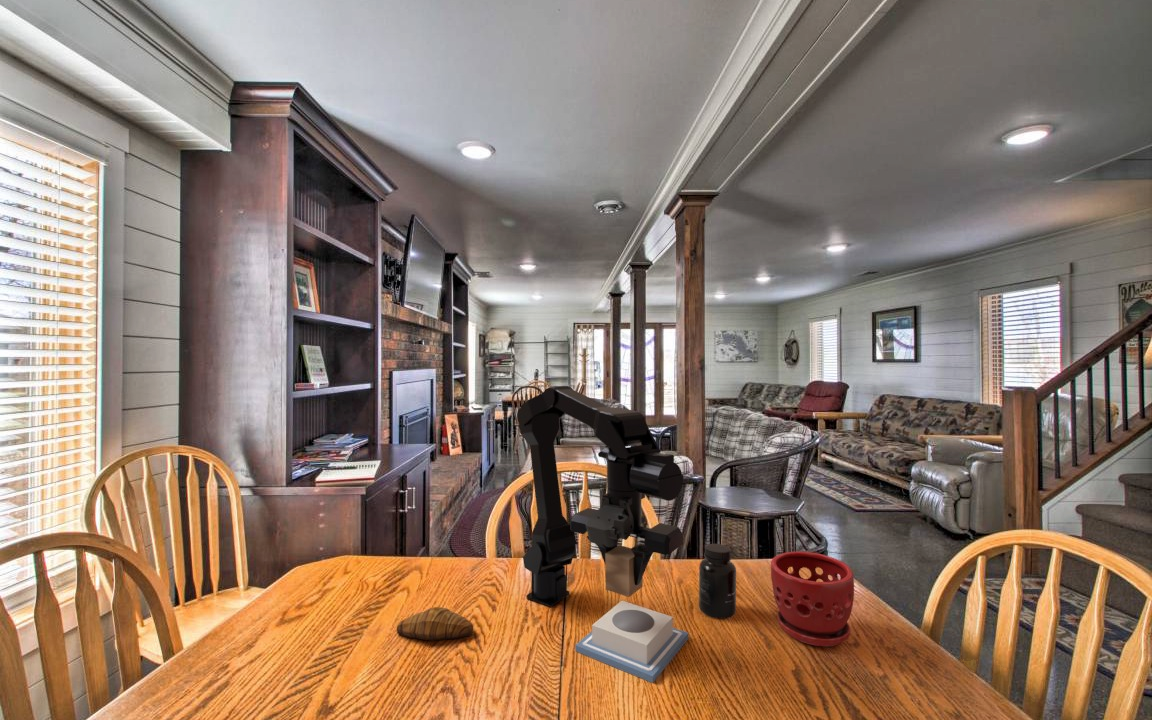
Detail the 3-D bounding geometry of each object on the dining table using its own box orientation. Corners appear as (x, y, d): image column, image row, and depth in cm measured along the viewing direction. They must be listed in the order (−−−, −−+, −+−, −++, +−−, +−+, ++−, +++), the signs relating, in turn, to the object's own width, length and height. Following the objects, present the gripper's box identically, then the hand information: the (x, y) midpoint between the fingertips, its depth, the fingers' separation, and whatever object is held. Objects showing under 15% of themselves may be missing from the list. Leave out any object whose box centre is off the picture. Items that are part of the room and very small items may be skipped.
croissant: (388, 646, 83) (388, 616, 83) (404, 624, 90) (404, 597, 90) (467, 648, 83) (467, 618, 83) (477, 626, 89) (477, 598, 89)
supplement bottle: (738, 622, 90) (738, 556, 90) (699, 618, 91) (699, 553, 91) (734, 603, 97) (734, 542, 97) (698, 600, 98) (698, 540, 98)
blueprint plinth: (575, 651, 81) (575, 626, 81) (617, 614, 93) (617, 592, 93) (652, 683, 73) (652, 655, 73) (688, 638, 85) (688, 614, 85)
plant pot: (780, 606, 96) (780, 544, 96) (857, 627, 88) (858, 560, 88) (762, 637, 85) (762, 568, 85) (848, 665, 77) (848, 589, 77)
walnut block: (605, 589, 82) (605, 553, 82) (619, 579, 85) (619, 545, 85) (629, 597, 79) (629, 559, 79) (642, 586, 83) (642, 551, 83)
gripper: (550, 489, 81) (550, 583, 81) (652, 509, 70) (652, 618, 70) (588, 475, 90) (588, 561, 90) (684, 491, 79) (684, 588, 79)
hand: (624, 580), depth 82 cm, fingers closed on walnut block, 4 cm apart
